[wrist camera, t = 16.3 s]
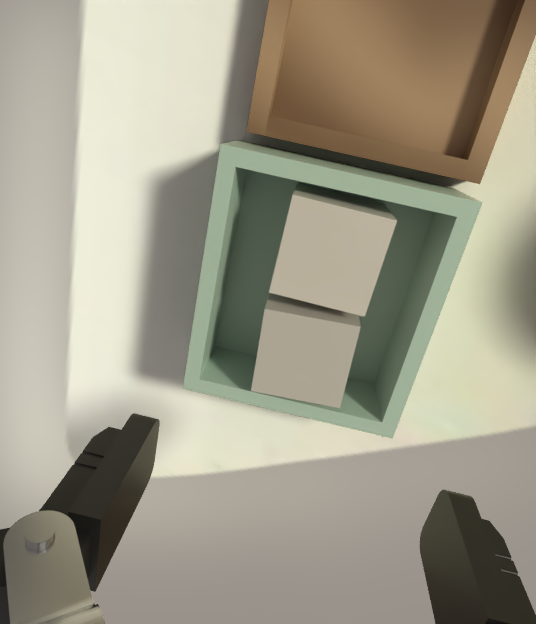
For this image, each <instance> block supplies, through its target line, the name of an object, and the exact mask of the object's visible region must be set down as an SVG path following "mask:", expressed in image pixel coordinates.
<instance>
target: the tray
mask: <svg viewBox="0 0 536 624" xmlns="http://www.w3.org/2000/svg"><path fill="white" fill-rule="evenodd" d="M535 35H536V0H269V3H268V9H267V15H266V20H265V26H264V32H263V38H262V43H261V49H260V55H259V61H258V66H257V72H256V78H255V84H254V89H253V95H252V101H251V107H250V112H249V118H248V124H247V130H246V132H250V133H254V134H259V135H263V136H268V137H272V138H277V139H281V140H286V141H290V142H295V143H299V144H303V145H308V146H312V147H317V148H321V149H326V150H330V151H335V152H339V153H344V154H348V155H353V156H357V157H361V158H366V159H370V160H375V161H379V162H384V163H388V164H393V165H397V166H402V167H406V168H411V169H415V170H419V171H424V172H428V173H433V174H437V175H442V176H446V177H451V178H455V179H460V180H464V181H469V182H473V183H477V184H480V182H481V180H482V177H483V174H484V172H485V169H486V166H487V164H488V161H489V158H490V156H491V153H492V150H493V148H494V145H495V142H496V140H497V137H498V134H499V132H500V129H501V126H502V124H503V121H504V118H505V115H506V113H507V110H508V107H509V105H510V102H511V99H512V97H513V94H514V91H515V89H516V86H517V83H518V81H519V78H520V75H521V73H522V70H523V67H524V65H525V62H526V59H527V57H528V54H529V51H530V49H531V46H532V43H533V41H534V38H535Z"/></svg>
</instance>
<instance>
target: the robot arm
mask: <svg viewBox="0 0 536 624" xmlns="http://www.w3.org/2000/svg"><path fill="white" fill-rule="evenodd" d="M158 431H159V419H155V418H151V417H147V416H143V415H138V414H132V415H131V416H130V418H129V419H128V421H127V422H126V424H125V425H124V427H123V428H122V430H119V429H115V428H111V427H108V428H107V429H105V430H103V431H102V432H100V433H99V434H97V435H96V436H94V437H93V438H92V439H91V441H90V442H89V443H88V445H87V446H86V448H85V449H84V450H83V453H82V454H80V456H79V457H78V459H77V460H76V461H75V464H74V465H73V466H72V467H71V468H70V470H69V471H68V472H67V474H66V475H65V477H64V478H63V479H62V481H61V482H60V484H59V485H58V486H57V488H56V489H55V490H54V492H53V493H52V494H51V496H50V497H49V499H48V500H47V501H46V503H45V504H44V505H43V507H42V508H41V509H40V510H39V512H35V513H32V514H29V515H27V516H25V517H23V518H21V519H20V520H18V521H17V522H16V523H14V525H13V526H12V527H10V528H6V529H1V530H0V624H105V621H104V618H103V614H102V611H101V609H100V607H99V605H98V604H97V605H95V604H94V602H93V599H92V595H91V591H96V589H97V587H98V585H99V583H100V581H101V579H102V577H103V575H104V573H105V571H106V569H107V566H108V564H109V562H110V560H111V558H112V556H113V554H114V552H115V550H116V548H117V546H118V544H119V542H120V540H121V538H122V536H123V534H124V532H125V530H126V527H127V525H128V523H129V521H130V519H131V517H132V515H133V513H134V511H135V509H136V507H137V505H138V503H139V501H140V499H141V497H142V494H143V492H144V490H145V488H146V486H147V484H148V482H149V479H150V476H151V473H152V470H153V466H154V461H155V454H156V446H157V439H158ZM420 553H421V558H422V562H423V567H424V572H425V577H426V581H427V586H428V591H429V595H430V600H431V604H432V609H433V614H434V618H435V623H436V624H536V615H535V613H534V610H533V608H532V605H531V603H530V601H529V598H528V596H527V593H526V591H525V589H524V586H523V584H522V581H521V579H520V577H519V576H518V575H517V573H518V572H517V570H516V567H515V565H514V562H513V561H511V555H510V553H509V551H508V548H507V546H506V543H505V541H504V539H503V537H502V536H501V535H500V534H499V532H498V531H497V530H496V529H495V527H494V526H493V525H492V524H491V522H490V521H488V520H484V519H481V517H480V514H479V511H478V509H477V506H476V503H475V501H474V499H473V498H472V497H471V496H468V495H464V494H460V493H456V492H451V491H447V490H442V491H441V492H440V493H439V494H438V497H437V499H436V501H435V503H434V505H433V507H432V509H431V512H430V514H429V516H428V518H427V520H426V522H425V524H424V526H423V529H422V532H421V537H420ZM90 590H91V591H90Z"/></svg>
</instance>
